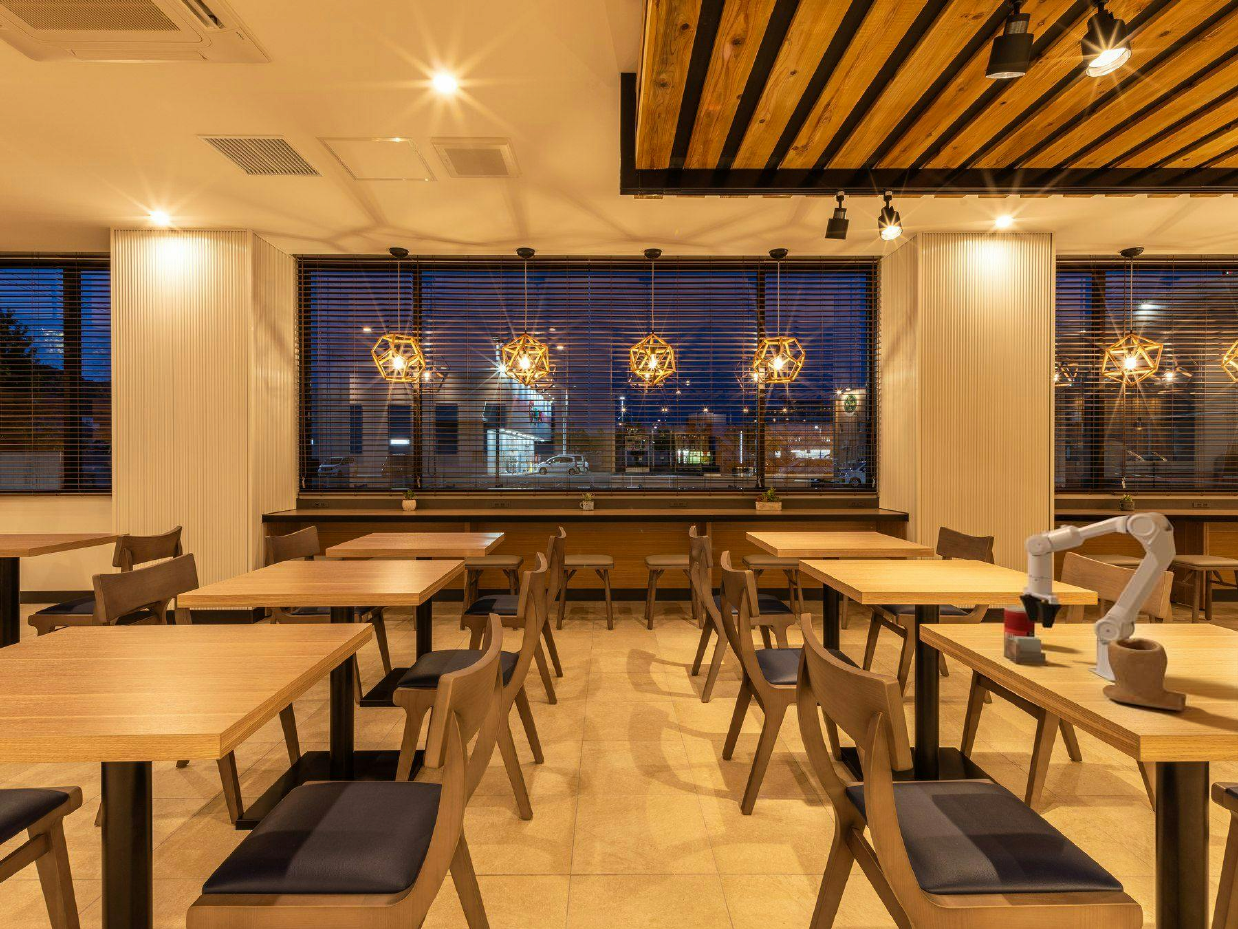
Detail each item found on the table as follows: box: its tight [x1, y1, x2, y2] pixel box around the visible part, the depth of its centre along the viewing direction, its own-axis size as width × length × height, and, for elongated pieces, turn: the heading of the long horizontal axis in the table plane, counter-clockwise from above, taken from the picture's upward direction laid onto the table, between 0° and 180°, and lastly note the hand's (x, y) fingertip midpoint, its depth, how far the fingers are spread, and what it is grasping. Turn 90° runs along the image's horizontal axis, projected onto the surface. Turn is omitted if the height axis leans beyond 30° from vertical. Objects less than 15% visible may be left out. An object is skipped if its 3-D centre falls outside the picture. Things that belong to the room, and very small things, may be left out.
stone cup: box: [1102, 637, 1187, 712], centre depth 140 cm, size 15×12×15 cm
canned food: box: [1003, 605, 1036, 640], centre depth 189 cm, size 8×8×11 cm
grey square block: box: [1013, 636, 1042, 653], centre depth 172 cm, size 2×6×6 cm, turn 81°
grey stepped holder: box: [1003, 636, 1048, 666], centre depth 172 cm, size 7×8×6 cm
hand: (1039, 624), depth 174 cm, fingers open, 7 cm apart
